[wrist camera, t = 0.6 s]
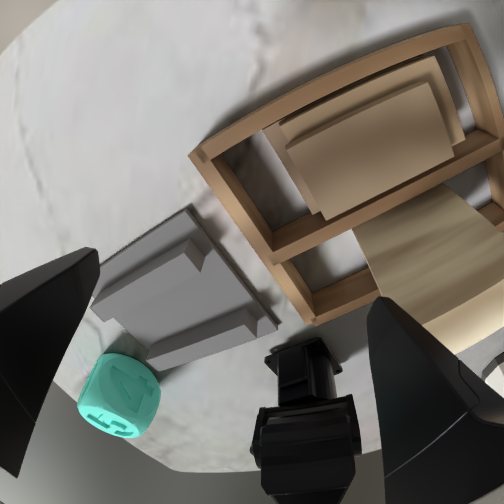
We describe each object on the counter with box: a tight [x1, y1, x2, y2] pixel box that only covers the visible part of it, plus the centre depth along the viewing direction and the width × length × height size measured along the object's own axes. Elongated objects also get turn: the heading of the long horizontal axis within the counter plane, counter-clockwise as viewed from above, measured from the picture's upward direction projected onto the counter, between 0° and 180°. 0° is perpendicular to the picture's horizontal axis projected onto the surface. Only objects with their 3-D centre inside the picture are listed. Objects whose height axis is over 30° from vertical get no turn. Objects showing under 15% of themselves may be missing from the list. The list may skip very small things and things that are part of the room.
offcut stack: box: [262, 55, 466, 221], centre depth 17 cm, size 7×12×5 cm, turn 122°
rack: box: [188, 23, 504, 327], centre depth 19 cm, size 16×21×3 cm
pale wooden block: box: [351, 183, 504, 355], centre depth 17 cm, size 4×8×12 cm, turn 122°
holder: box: [90, 208, 278, 372], centre depth 27 cm, size 14×14×3 cm
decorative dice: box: [77, 353, 161, 438], centre depth 32 cm, size 8×8×8 cm
